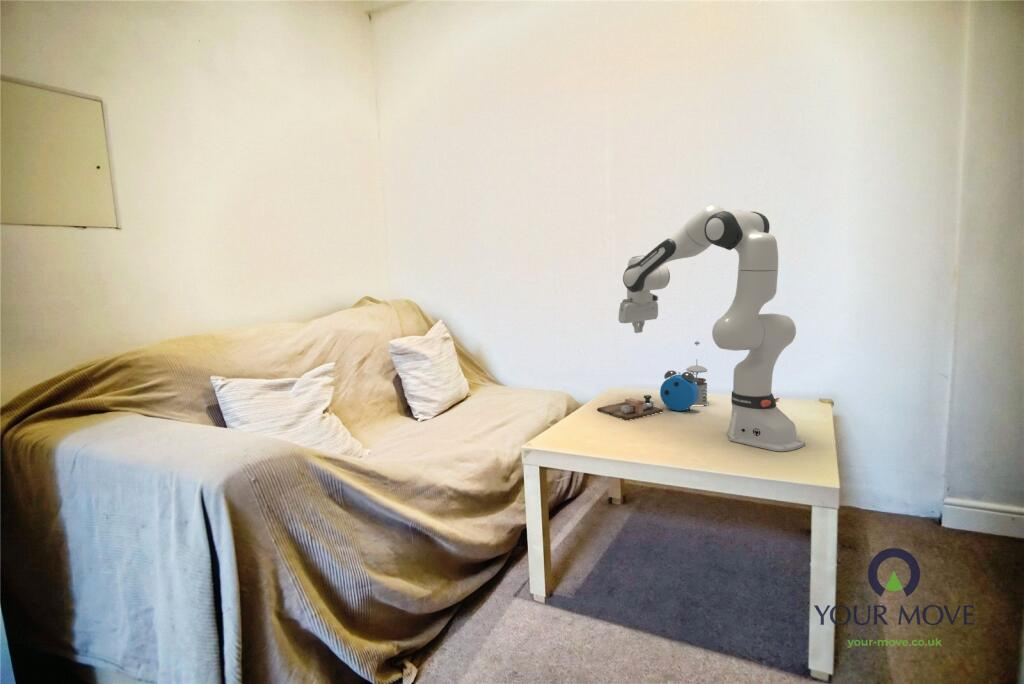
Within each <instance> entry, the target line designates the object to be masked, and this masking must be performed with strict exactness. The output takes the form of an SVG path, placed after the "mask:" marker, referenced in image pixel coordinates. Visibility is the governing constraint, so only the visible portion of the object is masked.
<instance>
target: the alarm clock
mask: <svg viewBox="0 0 1024 684" xmlns="http://www.w3.org/2000/svg"><path fill="white" fill-rule="evenodd" d="M663 377H664V381H663V383H662V385H661V386H660V391H659V394H660V398H661V400H662V402H663V404H664V405H665V406H666V407H667V408H668V409H670V410H671V411H672V410H673V411H675V410H676V412H681V411H682V412H683V411H686V410H687V409H690V410H691V407H693V406H692V405H694V404H695V402H696V401H697V399H698V396H699V390H698V387H697V384H696V382H694V380H695V377H696V376H695V375H694V374H693V372H689V371H685V372H683V373H681V372H677V371H675V370H667V372H665V374H664V376H663Z"/></svg>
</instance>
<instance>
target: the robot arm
mask: <svg viewBox="0 0 1024 684" xmlns="http://www.w3.org/2000/svg"><path fill="white" fill-rule="evenodd" d="M770 229H771V227H770V221H769V220H768V218H767V216H765V214H762V213H760V212H757V211H747V210H744V211H743V210H741V209H740V210H739V209H738V210H737V209H736V210H728V211H727V210H725V208H723V207H721V206H719V205H716V204H710V205H707V206H706V207H704V208H703V209H701V210H700V211H698V212H697V213H696V214H694V215H693V216H692V217H691V218H690V219H689V220H688V221H687V222H686V223H685V224H684V225H683V226H682V227H680V229H678V230H677V231H676V232H675V233H673V234H672V235H671V236H669V237H668V238H666V239H665V240H663V241H662V242H660V243H659V244H658V245H657V246H655V247H654V248H653V249H652V250H650V252H648V253H647V254H646V255H637V256H633V257H631V258H629V260H628V263H627V267H626V269H625V270H624V273H623V276H622V283H623V284H624V286H625V288H626V298H623V299H622V301H621V302H620V305H619V309H618V322H619V323H621V324H630V323H631V325H632V326H633V329H634V330H633V331H634V333H635V334H639V333H640V334H641V333H643V329H644V326H645V321H651V320H657V318H658V316H659V303H658V301H659V295H657V294H654V293H652V292H651V291H655V290H656V291H657V290H663V289H665V288H666V287H667V286H668V284H669V283H670V280H671V275H670V270H669V268H668V267H667V266H666V265H665V264H666V263H668V262H671V261H675V260H681V259H688V258H692V257H696V256H698V255H700V254H701V253H704V251H706V250H707V249H708V248H709V247H710V246H711V245H713V246H716V247H720V248H723V249H726V250H727V251H731V250H733V249H734V250H735V251H736V252H737V254H738V268H737V280H736V282H737V283H736V289H735V296H734V297H733V300H732V302H731V304H730V307H729V308H728V310H727V311H726V312H725V313H724V314H723V316H721V317H720V318H718V319H717V320H716V321H715V323H714V325H713V326H712V329H711V330H712V332H711V333H712V335H711V336H712V339H713V340H712V341H713V342H714V343H715V345H716V346H717V347H718V348H720V349H723V350H729V351H748V354H747V355H746V356H745V358H744V359H743V360H742V361H740V362H738V363H737V364H736V365H735V367H734V368H733V380H732V381H733V384H732V391H731V399H730V400H731V401H730V402H731V406H732V407H731V414H730V415H731V416H730V420H729V424H728V429H727V431H726V434H727V436H728V437H729V441H731V442H735V443H738V444H741V445H742V444H743V445H748V446H750V447H751V446H753V447H757V448H761V449H765V450H769V451H774V452H788V451H794V450H798V449H799V448H802V447H804V445H805V444H806V443H805V439H803V438H801V437H798V435H797V429H796V425H795V423H794V421H793V420H791V419H790V418H789V417H788V415H786V414H785V413H784V412H782V410H780V409H779V408H778V406H777V403H778V402H779V400H780V397H776V398H775V396H774V394H773V393H772V384H773V376H774V375H773V373H774V369H775V368H774V367H775V365H776V363H777V361H778V358H779V357H780V355H781V354H782V352H783V351H784V350H785V349H786V348H787V347H788V346H790V344H792V343H793V341H794V340H795V337H796V334H797V327H796V324H795V322H794V320H793V319H792V318H791V317H790V316H788V315H784V314H779V313H760V311H761V309H762V308H763V306H765V304H766V303H769V302H770V301H771V300H773V299H774V298H775V296H776V294H777V288H778V275H779V273H778V272H779V250H778V249H779V248H778V242H777V239H776V237H775V236H774V235H772V234H770Z"/></svg>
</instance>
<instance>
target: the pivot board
mask: <svg viewBox="0 0 1024 684" xmlns="http://www.w3.org/2000/svg"><path fill="white" fill-rule="evenodd" d="M625 405H630V403H626V402H620V403H616V404H615V403H614V404H611V405H606V406H601V407H597V409H596V411H597V412H599V411H600V413H602V412H603V413H602V414H605V413H606V415H608V414H609V415H608V416H611V415H612V417H614V416H615V417H614V418H617V417H618V418H617V419H620V418H622V419H621V420H623V419H624V421H626V420H628V421H631V420H630V419H633V420H635V418H637V419H640V418H639V417H641V418H644V417H643V416H646V417H648V416H647V415H650V416H653V415H652V414H654V415H656V414H655V413H658V414H661V413H660V412H663V413H664V409H663V408H661V407H660V408H659V407H655V406H654V408H652V409H644V410H643V413H642V414H637V413H635V412H631V413H623V412H621V406H625Z"/></svg>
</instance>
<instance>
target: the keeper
mask: <svg viewBox="0 0 1024 684" xmlns="http://www.w3.org/2000/svg"><path fill="white" fill-rule="evenodd" d="M624 401H625V402H626V403H630V404H633V405H635V413H637V414H642V413H643V405H644V401H645V400H642V399H641V400H640V399H637V398H633V397H630V398H625V399H624Z"/></svg>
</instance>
